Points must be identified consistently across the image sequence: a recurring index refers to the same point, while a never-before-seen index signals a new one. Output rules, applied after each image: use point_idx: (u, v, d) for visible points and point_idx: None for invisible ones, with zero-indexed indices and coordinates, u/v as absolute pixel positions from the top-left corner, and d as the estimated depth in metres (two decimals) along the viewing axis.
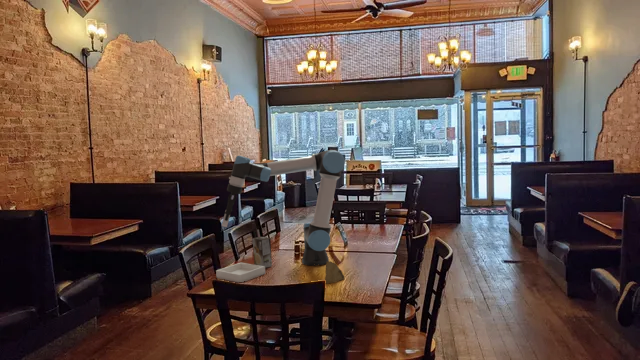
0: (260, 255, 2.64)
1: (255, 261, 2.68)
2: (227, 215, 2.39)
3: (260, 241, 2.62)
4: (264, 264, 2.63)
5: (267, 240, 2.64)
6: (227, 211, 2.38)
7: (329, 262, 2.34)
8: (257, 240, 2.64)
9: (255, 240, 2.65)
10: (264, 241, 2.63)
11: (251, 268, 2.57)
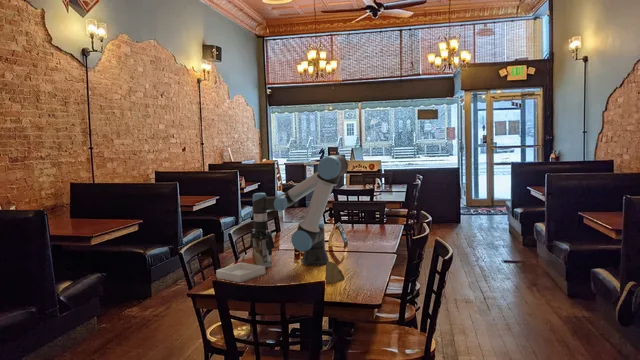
0: (260, 254, 2.64)
1: (255, 261, 2.68)
2: (270, 250, 2.63)
3: (260, 241, 2.62)
4: (264, 264, 2.63)
5: None
6: (272, 246, 2.62)
7: (329, 262, 2.34)
8: (257, 240, 2.64)
9: (255, 240, 2.65)
10: (264, 241, 2.63)
11: (251, 268, 2.57)
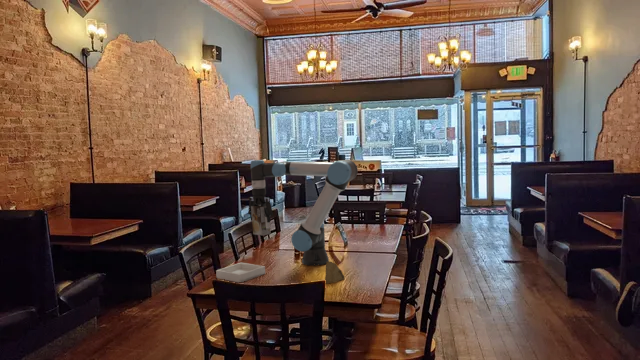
0: (258, 222, 2.62)
1: (253, 229, 2.66)
2: (269, 217, 2.62)
3: (258, 208, 2.61)
4: (263, 231, 2.61)
5: None
6: (270, 213, 2.60)
7: (329, 262, 2.34)
8: (255, 208, 2.63)
9: (254, 207, 2.64)
10: (262, 208, 2.61)
11: (251, 268, 2.57)
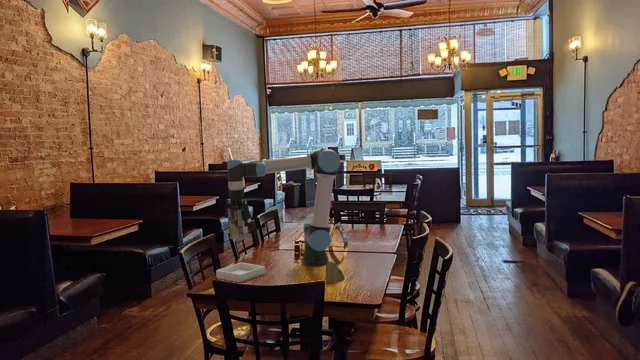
0: (235, 226, 2.44)
1: (230, 233, 2.48)
2: (246, 221, 2.44)
3: (235, 211, 2.43)
4: (240, 236, 2.44)
5: None
6: (248, 217, 2.42)
7: (329, 262, 2.34)
8: (232, 210, 2.45)
9: (230, 210, 2.46)
10: (239, 211, 2.43)
11: (251, 268, 2.57)
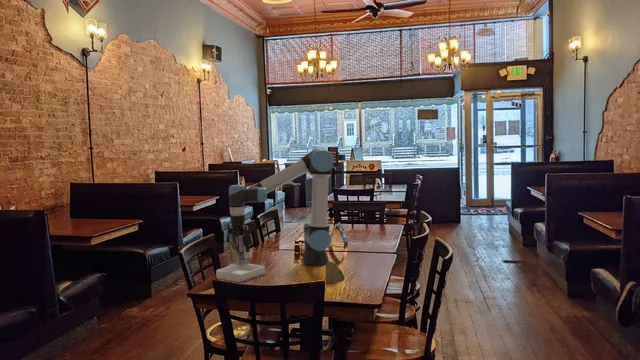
0: (236, 251, 2.45)
1: (231, 258, 2.49)
2: (248, 246, 2.45)
3: (237, 237, 2.44)
4: (241, 261, 2.45)
5: None
6: (249, 243, 2.43)
7: (329, 262, 2.34)
8: (233, 236, 2.46)
9: (232, 235, 2.47)
10: (241, 237, 2.44)
11: (251, 268, 2.57)
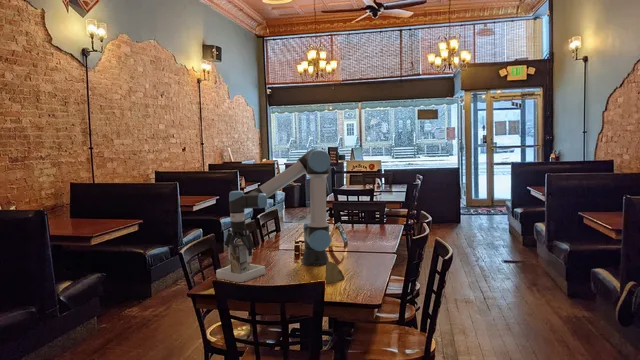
0: (237, 262, 2.46)
1: (232, 269, 2.50)
2: (251, 250, 2.44)
3: (237, 247, 2.45)
4: (241, 272, 2.45)
5: (245, 246, 2.47)
6: (252, 247, 2.43)
7: (329, 262, 2.34)
8: (234, 247, 2.47)
9: (232, 246, 2.48)
10: (241, 247, 2.45)
11: (251, 268, 2.57)
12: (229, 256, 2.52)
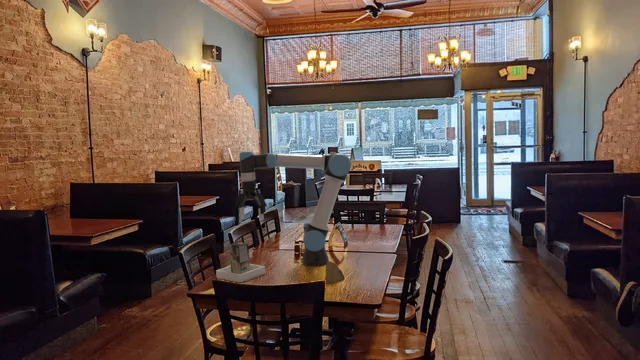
0: (237, 262, 2.46)
1: (232, 269, 2.50)
2: (262, 208, 2.49)
3: (237, 247, 2.45)
4: (241, 272, 2.45)
5: (245, 246, 2.47)
6: (264, 204, 2.48)
7: (329, 262, 2.34)
8: (234, 247, 2.47)
9: (232, 246, 2.48)
10: (241, 247, 2.45)
11: (251, 268, 2.57)
12: (241, 216, 2.57)
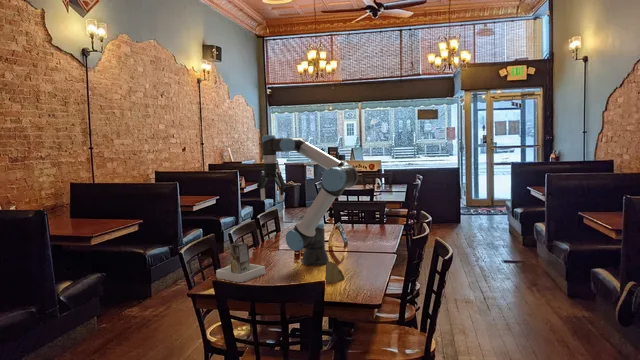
0: (237, 262, 2.46)
1: (232, 269, 2.50)
2: (282, 190, 2.62)
3: (237, 247, 2.45)
4: (241, 272, 2.45)
5: (245, 246, 2.47)
6: (284, 186, 2.60)
7: (329, 262, 2.34)
8: (234, 247, 2.47)
9: (232, 246, 2.48)
10: (241, 247, 2.45)
11: (251, 268, 2.57)
12: (261, 197, 2.70)
